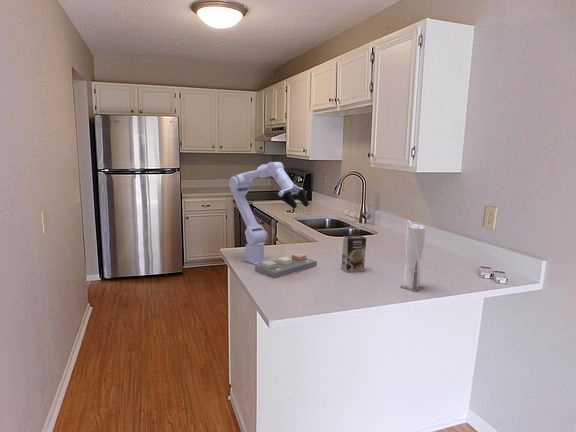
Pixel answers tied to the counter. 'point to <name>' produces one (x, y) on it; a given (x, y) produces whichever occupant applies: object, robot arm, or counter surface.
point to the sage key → (269, 265)
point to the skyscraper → (413, 257)
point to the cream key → (284, 261)
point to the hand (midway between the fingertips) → (301, 206)
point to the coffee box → (353, 253)
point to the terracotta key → (299, 257)
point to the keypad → (287, 268)
